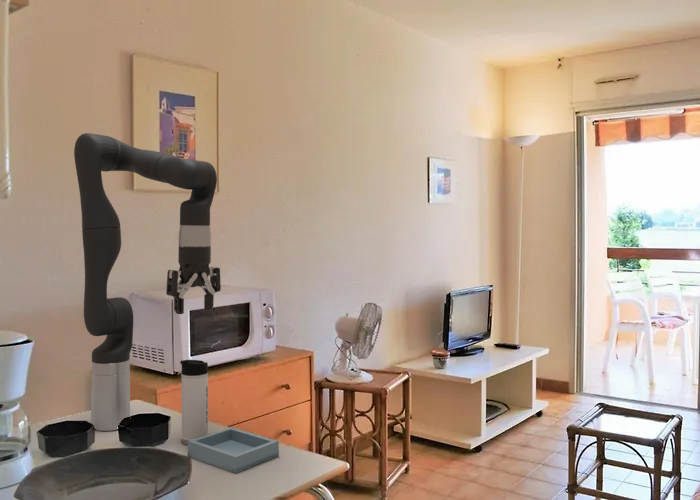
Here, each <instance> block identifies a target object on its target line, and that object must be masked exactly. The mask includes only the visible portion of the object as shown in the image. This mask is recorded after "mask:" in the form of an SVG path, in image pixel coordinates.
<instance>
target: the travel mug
mask: <svg viewBox="0 0 700 500" xmlns="http://www.w3.org/2000/svg"><path fill="white" fill-rule="evenodd" d="M179 363H180V365H181V373H180V377H181V379H180V380H181V443H182V444H184V445H187V446H188V441H190V440H193V439H196V438H199V437H202V436H205V435H208V434H209V371H208V368H209V365H208V364H209V363H208V362H207V361H206V362H205V361H204V360H197V359H182V360H180V361H179Z"/></svg>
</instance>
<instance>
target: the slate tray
mask: <svg viewBox="0 0 700 500" xmlns="http://www.w3.org/2000/svg"><path fill="white" fill-rule="evenodd" d="M279 442H280V440H276V439H272V438H270V437H266V436H264V435H258V434H256V433H252V432H248V431H246V430H243V429H239V428H235V427H231V426H230V427H227V428H224V429H221V430H218V431H215V432H212V433H208V435H205V436H202V437H199V438H196V439H193V440H190V441H188V445H187V457H188V456H189V457H188V458H192V459H194V460H197V461H200V462H202V463H205V464H208V465H211V466H214V467H217V468H220V469H222V470H225V471H226V472H230V473H233V474H238V473H240V472H243V471H245V470H248V469H251V468H253V467H256V466H258V465H261V464H262V463H265V462H268V461H271V460H274V459H275V458H278V457H279V456H280V454H279V453H280V447H279V445H280V443H279Z"/></svg>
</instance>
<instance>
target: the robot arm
mask: <svg viewBox="0 0 700 500" xmlns="http://www.w3.org/2000/svg"><path fill="white" fill-rule="evenodd" d="M73 152H74V153H73V154H74V155H73V156H74V157H73V158H74V165H75V170H76V177H77V184H78V190H79V198H80V211H81V232H82V233H81V235H82V246H83V257H84V258H83V259H84V292H83V293H84V295H83V321H84V322H83V323H84V324H85V329H86V330H87V332H88V333H89V335H92V336H93V337H101V336H106V338H105V339H104V341H103V342H102V343H101V344H99V345H98V346H96V347H95V348H94V349H93V350H92V352H91V384H92V385H91V390H90V421H91V422H90V423H92V424H93V425H94V426H95V429H96V430H95V429H94V430H95V431H101V432H109V431H110V432H113V431H118V430H117V427H118V424H119V422H120V421H121V420H122V419H124V418H126V417H130V418H131V373H130V372H131V369H130V367H131V362H130V361H131V359H130V357H131V355H130V354H131V350H132V349H133V338H134V311H133V307H132V304H131V302H130V301H129V300H128V299H126V298H125V297H122V296H121V297H110V298H109V297H108V281H109V276H110V274H111V272H112V269H113V267H114V265H115V264H116V261H117V260H118V257H119V255H120V253H121V249H122V231H121V221H120V218H119V216H118V214H117V211H116V209H115V208H114V206H113V205H112V203H111V201H110V200H109V198H108V195H107V194H106V192H105V189H104V184H103V177H102V172H105V173H106V172H130V173H134V174H137V175H139V176H140V177H143V178H146V179H149V180H152V181H157V182H160V183H164V184H168V185H171V186H173V187H175V188H179V189H184V190H188V191H189V190H191V193H190V197H189V198H188V199H186V200H183V201H182V202H181V203H180V208H179V230H178V257H177V258H178V260H177V261H178V264H179V269H178V270H176V269H168V270H167V273H166V274H167V276H166V291H165V292H166V293H165V294H166V296H170V297H172V298H173V309H174V312H175V314H177V315H183V314H184V313H185V309H184V308H185V298H184V296H185V294H186V292H188V291H189V290H190V289H191V288H196V287H200V288H201V289H202V291H203V292H204V293H205V294H204V295H203V296H204V298H203V299H204V301H203V303H204V304H203V305H204V306H203V307H204V310H205V311H212V310H213V308H214V299H215V298H214V296H215V294H216V293H218V292H220V291H221V290H222V287H221V268H220V267H215V266H210V264H211V262H212V259H211V258H212V253H211V252H212V250H211V248H212V233H211V232H212V231H211V207H212V204H213V203H212V202H213V200H214V195H215V193H216V188H217V185H218V184H217V182H218V176H217V172H216V168H215V167H214V165H213V164H212V163H210V162H209V161H203V160H197V159H188V158H183V157H177V156H175V155H174V154H173V155H172V154H169V153H165V152H160V151H156V150H148V149H143V148H141V149H140V148H138V147H134V146H132V145H130V144H127V143H125V142H122V141H121V140H118V139H117V138H114V137H111V136H110V135H109V136H108V135H103V134H97V133H91V132H85V133H82V134H80V135H79V136H78V137H77V138H76V141H75V143H74V149H73ZM209 277H210V278H209Z"/></svg>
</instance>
